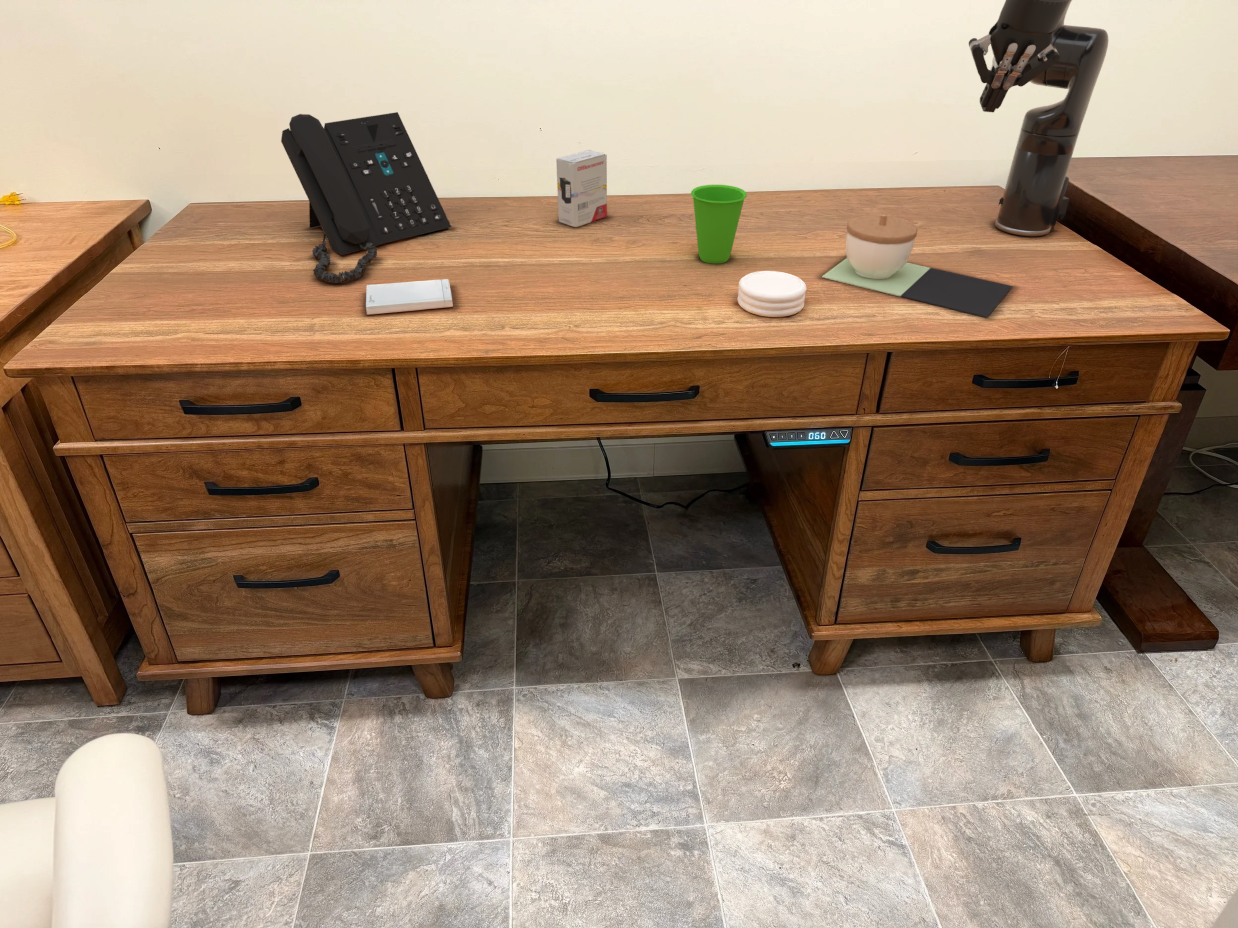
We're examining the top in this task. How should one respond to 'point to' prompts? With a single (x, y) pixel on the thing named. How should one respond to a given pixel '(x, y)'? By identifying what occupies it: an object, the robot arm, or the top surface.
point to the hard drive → (408, 296)
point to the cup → (716, 220)
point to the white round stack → (771, 293)
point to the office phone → (361, 185)
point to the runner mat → (930, 287)
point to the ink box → (582, 187)
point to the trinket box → (879, 244)
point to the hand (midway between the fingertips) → (986, 109)
